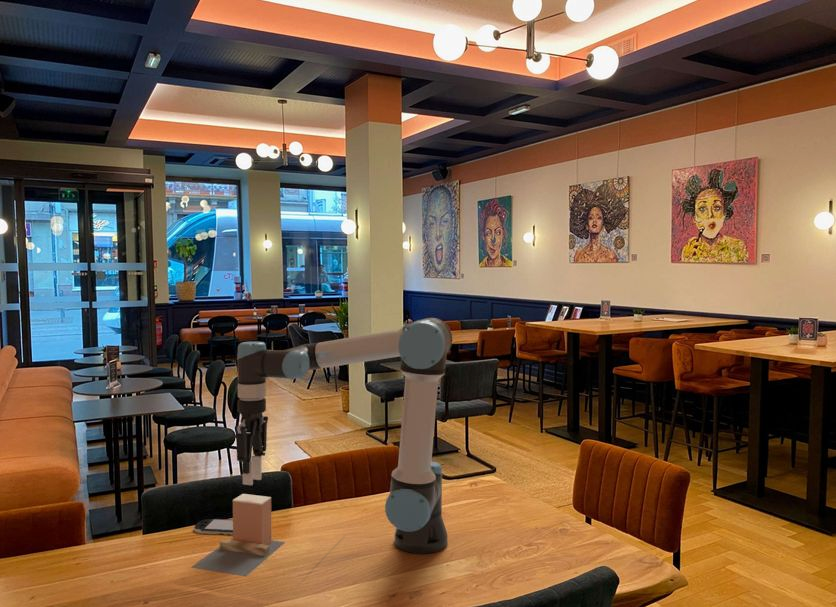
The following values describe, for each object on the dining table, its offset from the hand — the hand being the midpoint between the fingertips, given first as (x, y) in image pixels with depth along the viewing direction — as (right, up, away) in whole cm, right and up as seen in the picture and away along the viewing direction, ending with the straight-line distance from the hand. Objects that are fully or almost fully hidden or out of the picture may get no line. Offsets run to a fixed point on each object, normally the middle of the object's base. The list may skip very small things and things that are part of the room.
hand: (252, 481), depth 166 cm
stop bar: (-1, -18, -3) cm, 18 cm away
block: (0, -18, +1) cm, 18 cm away
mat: (-2, -19, -5) cm, 20 cm away
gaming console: (-10, -19, +12) cm, 24 cm away
